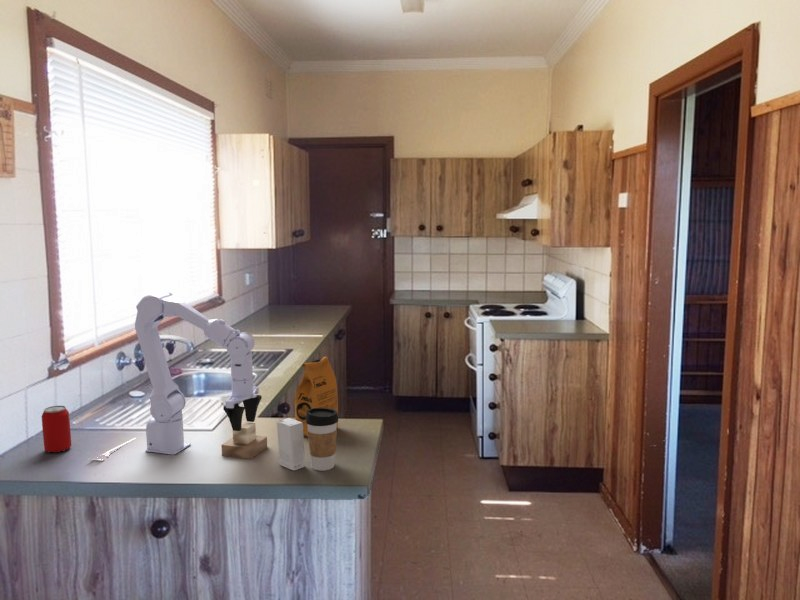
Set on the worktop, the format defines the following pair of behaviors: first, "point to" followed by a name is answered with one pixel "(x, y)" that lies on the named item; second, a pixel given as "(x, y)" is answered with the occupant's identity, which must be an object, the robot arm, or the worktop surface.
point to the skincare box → (291, 444)
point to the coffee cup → (322, 437)
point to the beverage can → (56, 429)
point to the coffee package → (316, 390)
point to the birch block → (245, 433)
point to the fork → (112, 450)
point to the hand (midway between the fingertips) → (243, 425)
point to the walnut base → (244, 448)
